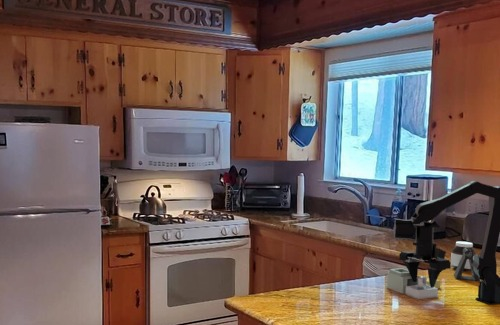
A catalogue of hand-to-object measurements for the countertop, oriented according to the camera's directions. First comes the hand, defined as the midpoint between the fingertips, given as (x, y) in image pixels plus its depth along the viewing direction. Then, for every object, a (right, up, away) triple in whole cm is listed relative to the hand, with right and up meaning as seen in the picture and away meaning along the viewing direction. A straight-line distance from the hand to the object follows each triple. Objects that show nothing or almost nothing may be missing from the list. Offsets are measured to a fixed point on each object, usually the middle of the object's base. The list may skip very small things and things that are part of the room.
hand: (423, 284), depth 175 cm
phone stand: (+27, -5, +28) cm, 40 cm away
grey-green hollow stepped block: (-4, -4, +8) cm, 10 cm away
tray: (0, -4, +1) cm, 4 cm away
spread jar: (+33, -4, +47) cm, 58 cm away
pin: (0, -4, +1) cm, 4 cm away
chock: (+7, -4, +13) cm, 16 cm away
